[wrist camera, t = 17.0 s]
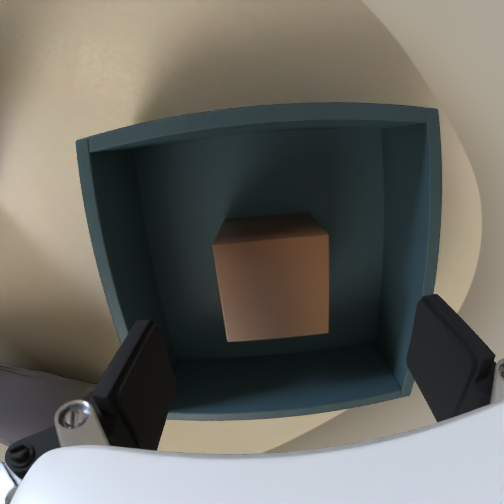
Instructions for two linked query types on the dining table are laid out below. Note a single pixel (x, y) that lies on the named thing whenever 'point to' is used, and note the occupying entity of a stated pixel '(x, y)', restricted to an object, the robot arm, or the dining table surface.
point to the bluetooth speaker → (34, 400)
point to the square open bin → (264, 204)
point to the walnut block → (273, 276)
